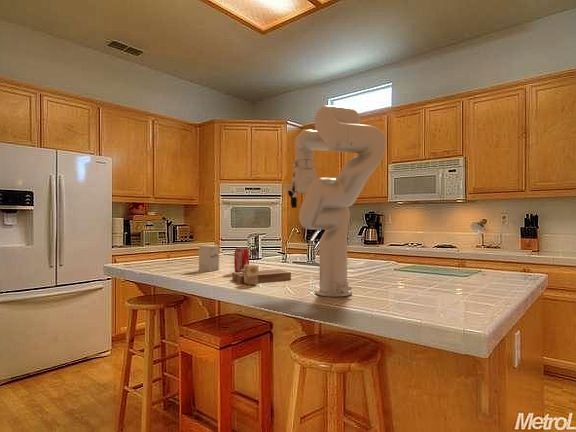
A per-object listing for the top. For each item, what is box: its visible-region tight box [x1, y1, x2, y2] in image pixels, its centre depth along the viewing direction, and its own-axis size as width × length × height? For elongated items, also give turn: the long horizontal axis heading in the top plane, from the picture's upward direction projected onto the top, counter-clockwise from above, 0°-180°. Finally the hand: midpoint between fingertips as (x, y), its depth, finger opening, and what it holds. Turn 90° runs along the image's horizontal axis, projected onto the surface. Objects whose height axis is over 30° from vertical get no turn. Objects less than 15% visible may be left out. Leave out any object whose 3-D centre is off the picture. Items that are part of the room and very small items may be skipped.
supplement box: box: [198, 244, 220, 273], centre depth 187 cm, size 7×7×13 cm
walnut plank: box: [231, 268, 292, 285], centre depth 158 cm, size 12×22×3 cm, turn 116°
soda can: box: [233, 247, 250, 272], centre depth 178 cm, size 7×7×12 cm
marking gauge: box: [241, 264, 259, 286], centre depth 149 cm, size 14×4×7 cm, turn 26°
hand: (304, 207), depth 150 cm, fingers open, 9 cm apart
